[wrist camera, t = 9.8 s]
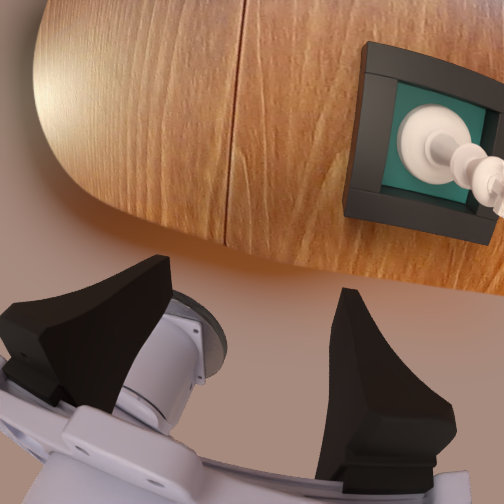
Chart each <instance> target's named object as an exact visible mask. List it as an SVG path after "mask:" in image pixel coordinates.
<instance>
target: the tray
mask: <svg viewBox="0 0 504 504" xmlns="http://www.w3.org/2000/svg"><path fill="white" fill-rule="evenodd" d="M424 104H438V105H442V106H445V107H447V108H449V109H450V110H452V111H453V112H455V113H456V114H457V115H458V116H459V117H460V118H461V119H462V120H463V121H464V123H465V124H466V126H467V128H468V130H469V133H470V137H471V142H472V143H473V144H476V145H478V146H480V147H481V148H482V149H483V150H484V151H485V153H486V154H487V156H488V157H489V156H494V157H498V158H500V159H502V160H504V84H503V83H501V82H498V81H496V80H494V79H491V78H489V77H487V76H484V75H482V74H479V73H477V72H474V71H472V70H469V69H466V68H464V67H461V66H458V65H455V64H452V63H449V62H446V61H443V60H440V59H437V58H434V57H431V56H427V55H424V54H420V53H417V52H413V51H409V50H406V49H402V48H398V47H394V46H389V45H385V44H380V43H376V42H371V41H368V42H367V43H366V44H365V45H364V46H363V47H362V55H361V66H360V76H359V86H358V95H357V104H356V112H355V120H354V127H353V135H352V142H351V149H350V155H349V162H348V168H347V174H346V180H345V186H344V192H343V198H342V204H343V213H344V217H349V218H355V219H360V220H366V221H371V222H376V223H382V224H387V225H392V226H397V227H403V228H408V229H413V230H418V231H422V232H427V233H432V234H437V235H441V236H446V237H451V238H455V239H460V240H464V241H469V242H473V243H477V244H482V245H486V246H488V245H489V243H490V240H491V237H492V234H493V232H494V229H495V226H496V223H497V220H498V217H499V216H498V215H497V214H496V213H495V212H494V211H493V208H494V207H486V206H484V205H482V204H481V203H479V202H478V201H477V199H476V198H475V196H474V195H473V192H472V190H471V189H464V188H462V187H460V186H459V185H457V184H456V183H455V181H454V180H453V181H451V182H448V183H445V184H429V183H426V182H423V181H421V180H419V179H417V178H416V177H414V176H413V175H412V174H411V173H410V172H409V171H408V170H407V169H406V168H405V167H404V165H403V163H402V162H401V160H400V157H399V154H398V150H397V133H398V129H399V126H400V124H401V122H402V120H403V119H404V117H405V116H406V115H407V114H408V113H409V112H410V111H411V110H413V109H414V108H416V107H418V106H420V105H424Z"/></svg>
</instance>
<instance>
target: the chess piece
mask: <svg viewBox="0 0 504 504" xmlns="http://www.w3.org/2000/svg"><path fill="white" fill-rule="evenodd" d="M397 150H398V154H399V157H400V160H401V162H402V163H403V165H404V167H405V168H406V169H407V170H408V171H409V172H410V173H411V174H412V175H413V176H414V177H416V178H417V179H419V180H421V181H423V182H426V183H429V184H445V183H448V182H451V181H453V180H454V181H455V183H456V184H457V185H459V186H460V187H462V188H464V189H471V190H472V192H473V195H474V196H475V198H476V199H477V201H478V202H479V203H481V204H482V205H484V206H486V207H494V208H493V211H494V212H495V213H496V214H497V215H498V216H501V217H503V218H504V160H502V159H500V158H498V157H494V156H489V157H488V156H487V154H486V153H485V151H484V150H483V149H482V148H481V147H480V146H478V145H476V144H473V143H472V142H471V137H470V133H469V130H468V128H467V126H466V124H465V123H464V121H463V120H462V119H461V118H460V117H459V116H458V115H457V114H456V113H455V112H453V111H452V110H450V109H449V108H447V107H445V106H442V105H438V104H424V105H420V106H418V107H416V108H414V109H413V110H411V111H410V112H409V113H408V114H407V115H406V116H405V117H404V119H403V120H402V122H401V124H400V126H399V129H398V133H397Z"/></svg>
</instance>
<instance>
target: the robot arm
mask: <svg viewBox="0 0 504 504" xmlns="http://www.w3.org/2000/svg"><path fill="white" fill-rule="evenodd" d="M172 296H173V291H172V281H171V270H170V259H169V257H168V256H162V255H154V256H152V257H150V258H148V259H146V260H144V261H142V262H140V263H138V264H136V265H134V266H132V267H130V268H128V269H126V270H124V271H122V272H120V273H118V274H116V275H114V276H112V277H110V278H108V279H105V280H103V281H101V282H99V283H96V284H94V285H92V286H89V287H86V288H84V289H81V290H78V291H75V292H71V293H68V294H65V295H61V296H57V297H52V298H48V299H43V300H36V301H28V302H18V303H13V304H12V305H11V306H10V307H9V308H8V309H7V310H5V311H4V312H3V313H2V314H1V315H0V337H1V339H2V341H3V343H4V345H5V347H6V348H7V350H8V352H9V354H10V356H11V358H10V359H9V361H8V362H7V360H6V359H5V358H4V357H3V356H1V355H0V430H1V431H2V432H3V433H4V434H5V435H7V436H8V437H9V438H10V439H11V440H13V441H14V442H15V443H16V444H18V445H19V446H20V447H21V448H23V449H24V450H25V451H27V452H28V453H29V454H31V455H32V456H33V457H35V458H36V459H37V460H39V461H40V462H41V463H43V465H44V466H43V468H42V470H41V471H40V473H39V475H38V476H37V478H36V480H35V481H34V483H33V485H32V486H31V488H30V490H29V491H28V493H27V495H26V496H25V498H24V500H23V502H22V503H21V504H472V501H471V488H470V477H469V471H467V470H464V471H455V472H445V473H440V474H437V475H434V476H433V467H435V466H436V465H437V460H436V455H437V454H439V453H440V452H441V451H442V450H443V449H444V448H445V447H446V446H447V445H448V444H449V443H450V442H451V441H452V440H453V438H454V437H455V435H456V432H457V428H456V422H455V416H454V412H453V408H452V405H451V404H450V403H449V402H447V401H446V400H445V399H443V398H442V397H440V396H439V395H438V394H436V393H435V392H434V391H432V390H431V389H430V388H429V387H428V386H427V385H425V384H424V383H423V382H422V381H421V380H419V378H418V377H417V376H416V375H415V374H414V373H413V372H411V370H410V369H409V368H408V367H407V366H406V365H405V364H404V363H403V362H402V361H401V359H400V358H399V357H398V356H397V355H396V353H395V352H394V351H393V349H392V348H391V347H390V345H389V344H388V343H387V341H386V340H385V338H384V337H383V335H382V334H381V332H380V331H379V329H378V327H377V325H376V324H375V322H374V320H373V318H372V317H371V315H370V313H369V311H368V309H367V307H366V306H365V303H364V301H363V300H362V297H361V296H360V293H359V292H358V290H355V289H348V288H342V291H341V295H340V298H339V302H338V306H337V309H336V313H335V316H334V320H333V323H332V327H331V336H330V346H329V403H328V410H327V417H326V424H325V430H324V436H323V442H322V447H321V452H320V457H319V462H318V467H317V471H316V475H315V479H307V478H299V477H293V476H286V475H280V474H274V473H268V472H263V471H258V470H253V469H248V468H243V467H239V466H235V465H230V464H226V463H222V462H218V461H215V460H211V459H207V458H203V457H200V456H198V455H197V454H196V452H195V451H194V450H192V449H191V448H189V447H188V446H186V445H185V444H183V443H181V442H179V441H177V440H175V439H174V438H173V437H172V436H170V435H169V432H170V431H171V430H172V429H173V428H174V427H175V426H176V425H177V423H178V421H179V419H180V417H181V415H182V412H183V410H184V408H185V405H186V404H187V401H188V399H189V397H190V395H191V392H192V390H193V388H194V386H195V384H198V385H204V384H205V367H204V352H203V334H202V325H201V323H200V322H198V321H194V320H190V319H185V318H181V317H177V316H173V315H169V314H165V311H166V309H167V307H168V305H169V303H170V301H171V298H172ZM195 329H196V330H195ZM197 330H198V331H197Z"/></svg>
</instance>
